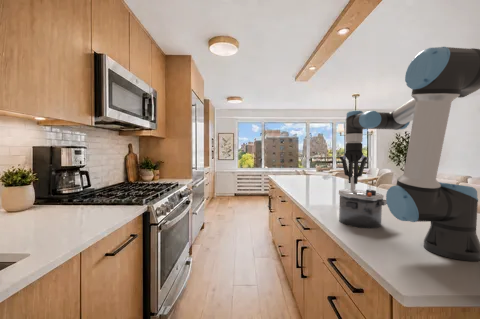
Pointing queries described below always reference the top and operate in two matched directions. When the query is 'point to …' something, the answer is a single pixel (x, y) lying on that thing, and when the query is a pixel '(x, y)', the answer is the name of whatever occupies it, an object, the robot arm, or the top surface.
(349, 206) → the cooker pot
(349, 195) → the cooker lid
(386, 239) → the top surface
